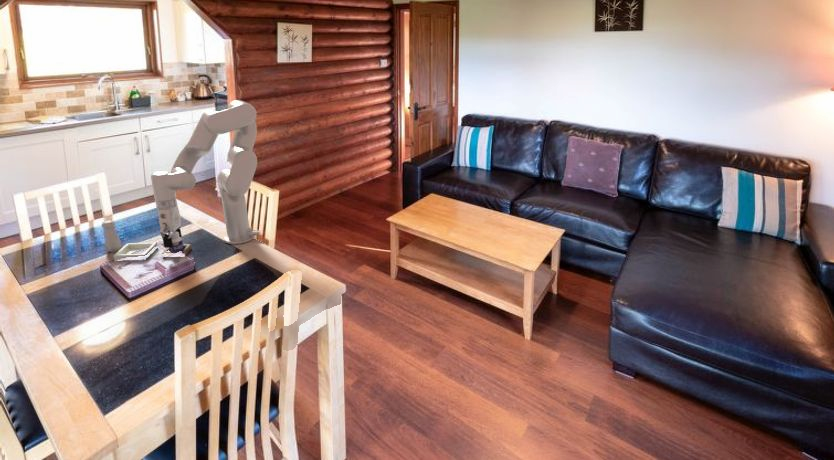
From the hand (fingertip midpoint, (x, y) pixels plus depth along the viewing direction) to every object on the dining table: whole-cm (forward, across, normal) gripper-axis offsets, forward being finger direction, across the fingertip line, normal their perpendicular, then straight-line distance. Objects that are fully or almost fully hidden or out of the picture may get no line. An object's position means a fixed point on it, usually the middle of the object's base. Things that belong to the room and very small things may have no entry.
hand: (173, 242), depth 199 cm
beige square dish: (+5, 0, -1) cm, 5 cm away
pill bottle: (+5, 0, -1) cm, 5 cm away
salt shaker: (+6, +5, +26) cm, 27 cm away
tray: (+5, 0, +15) cm, 16 cm away
